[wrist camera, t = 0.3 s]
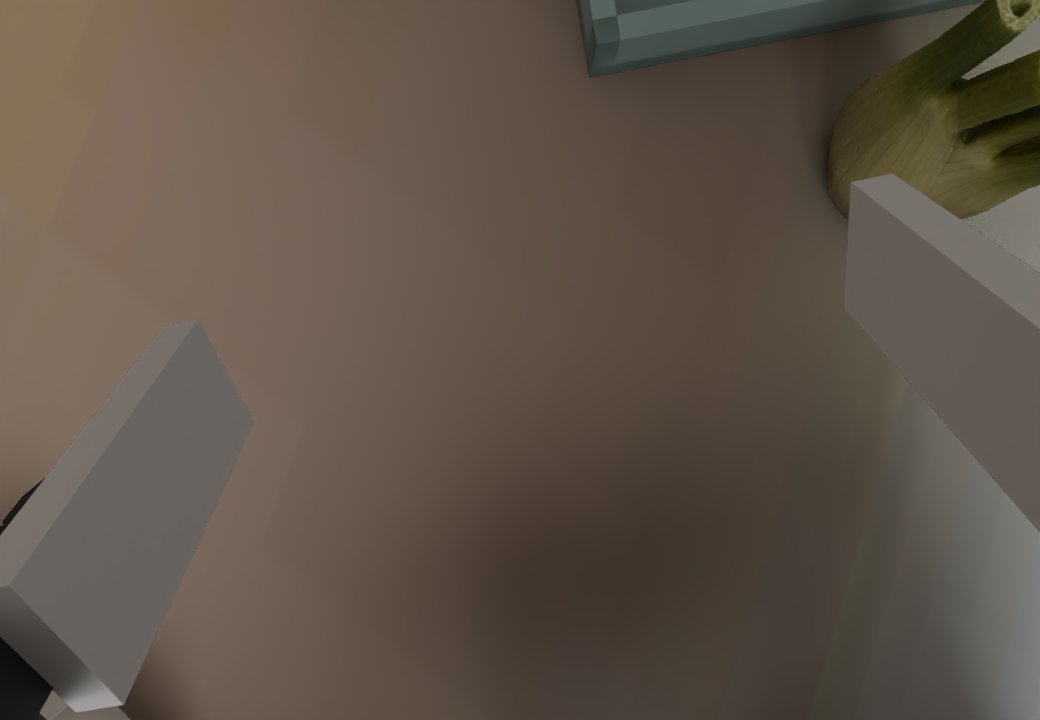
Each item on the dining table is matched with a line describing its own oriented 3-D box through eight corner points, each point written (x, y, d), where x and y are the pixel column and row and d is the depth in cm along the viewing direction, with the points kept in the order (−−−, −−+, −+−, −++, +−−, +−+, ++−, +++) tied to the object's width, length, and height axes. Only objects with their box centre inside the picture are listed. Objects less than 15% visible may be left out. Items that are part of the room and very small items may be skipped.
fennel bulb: (795, 122, 29) (977, -15, 17) (910, 86, 29) (1175, -78, 17) (833, 255, 29) (1037, 211, 17) (946, 220, 29) (1232, 152, 17)
